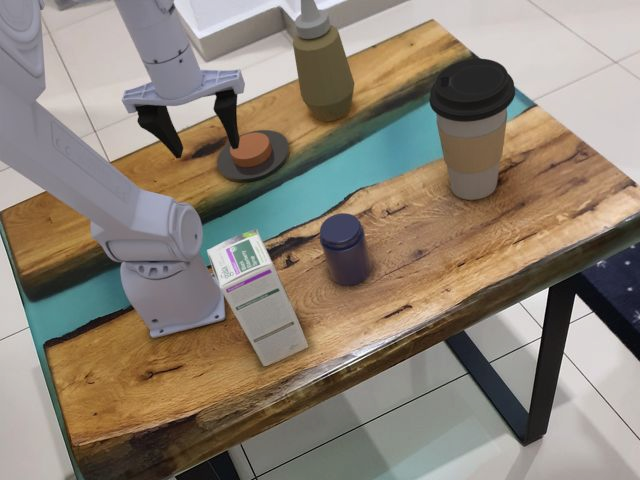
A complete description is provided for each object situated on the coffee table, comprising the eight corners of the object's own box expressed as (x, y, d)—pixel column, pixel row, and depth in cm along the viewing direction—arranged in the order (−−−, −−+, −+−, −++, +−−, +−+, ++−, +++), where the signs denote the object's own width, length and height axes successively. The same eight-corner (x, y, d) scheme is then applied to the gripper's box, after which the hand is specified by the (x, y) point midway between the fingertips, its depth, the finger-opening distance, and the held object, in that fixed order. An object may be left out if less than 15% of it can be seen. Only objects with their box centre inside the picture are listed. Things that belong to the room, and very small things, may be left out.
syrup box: (310, 348, 73) (275, 261, 62) (262, 369, 73) (218, 286, 61) (294, 313, 77) (258, 225, 65) (248, 334, 76) (203, 248, 65)
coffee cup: (425, 177, 86) (413, 75, 74) (489, 150, 86) (488, 44, 74) (458, 220, 80) (451, 116, 68) (527, 191, 81) (532, 83, 69)
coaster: (220, 190, 93) (218, 187, 92) (216, 144, 99) (215, 141, 99) (294, 170, 92) (293, 167, 92) (285, 125, 99) (284, 122, 98)
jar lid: (274, 138, 96) (271, 129, 95) (270, 164, 93) (267, 156, 92) (235, 143, 98) (232, 135, 96) (230, 170, 94) (227, 161, 93)
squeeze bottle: (298, 109, 101) (265, -9, 86) (344, 87, 101) (320, -32, 87) (319, 134, 96) (288, 15, 81) (367, 112, 97) (345, -11, 82)
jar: (334, 291, 78) (321, 249, 72) (326, 260, 81) (313, 218, 75) (376, 279, 77) (366, 236, 71) (367, 249, 80) (357, 206, 75)
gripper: (230, 18, 73) (264, 120, 84) (112, 41, 76) (160, 138, 87) (223, 52, 69) (260, 155, 80) (99, 76, 72) (151, 172, 83)
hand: (207, 148), depth 83 cm, fingers open, 7 cm apart
